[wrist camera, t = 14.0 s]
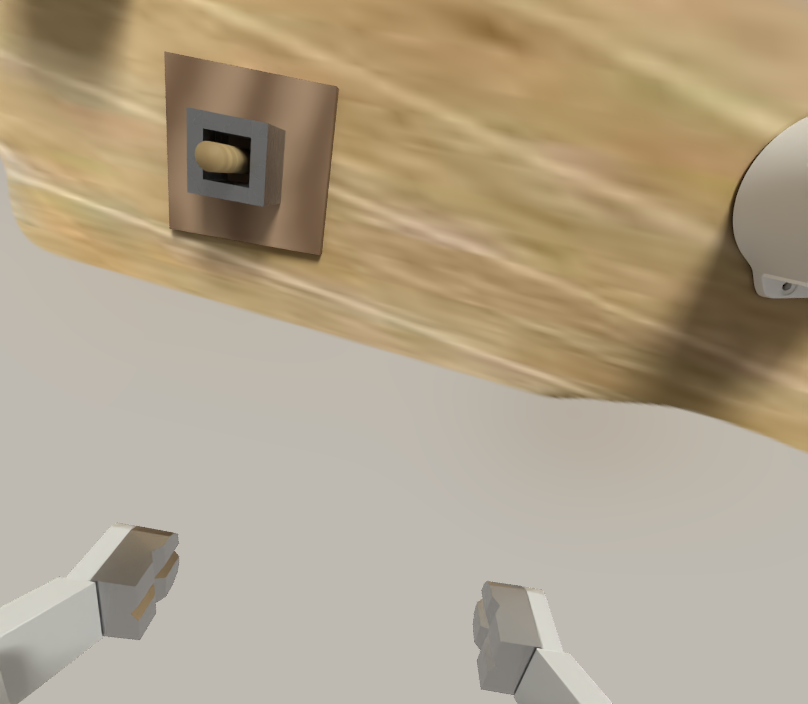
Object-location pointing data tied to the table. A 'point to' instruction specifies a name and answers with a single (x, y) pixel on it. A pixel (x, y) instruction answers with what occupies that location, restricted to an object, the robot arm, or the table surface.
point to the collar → (262, 159)
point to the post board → (298, 153)
